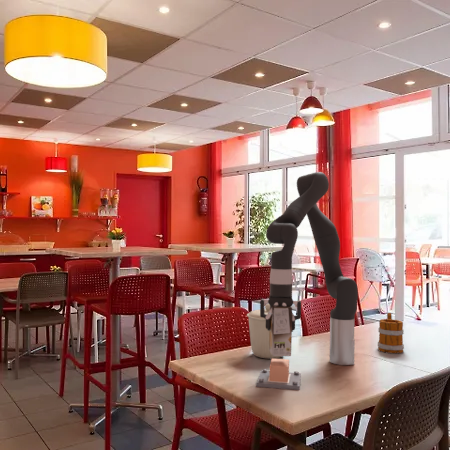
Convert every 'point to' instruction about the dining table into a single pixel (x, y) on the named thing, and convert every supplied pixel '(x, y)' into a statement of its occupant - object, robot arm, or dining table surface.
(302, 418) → the dining table surface
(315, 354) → the dining table surface
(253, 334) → the canister
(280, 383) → the plate
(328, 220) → the robot arm
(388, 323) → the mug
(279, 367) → the brick
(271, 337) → the coffee box
